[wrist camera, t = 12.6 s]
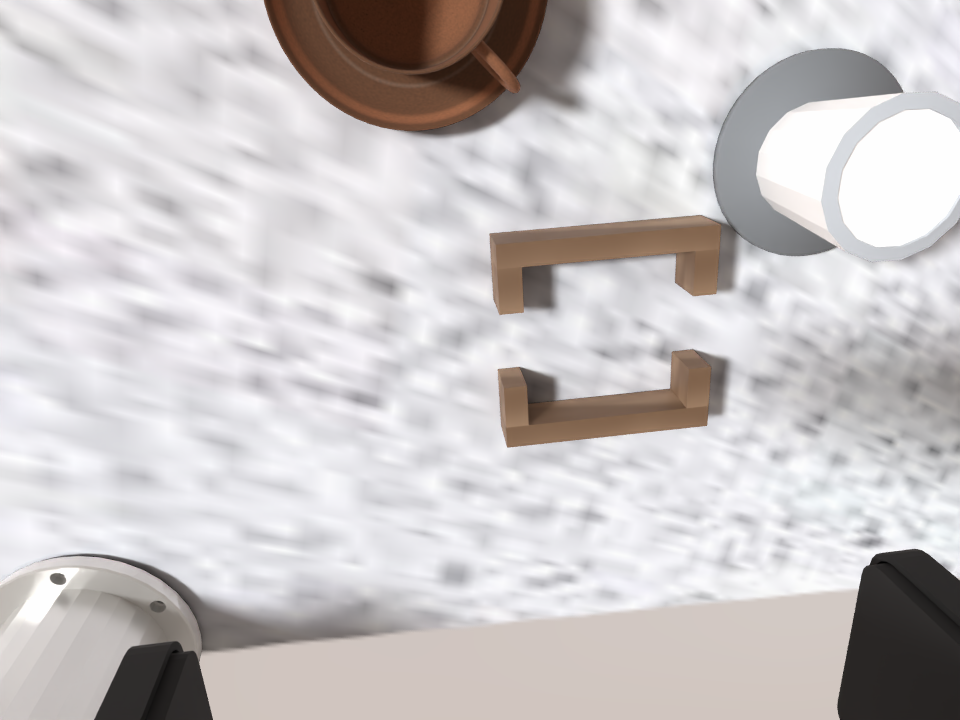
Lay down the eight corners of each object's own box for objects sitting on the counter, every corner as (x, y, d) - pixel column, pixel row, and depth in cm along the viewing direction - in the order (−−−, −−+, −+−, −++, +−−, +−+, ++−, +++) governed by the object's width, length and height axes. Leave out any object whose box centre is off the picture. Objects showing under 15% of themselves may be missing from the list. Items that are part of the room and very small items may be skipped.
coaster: (886, 244, 37) (893, 247, 37) (707, 261, 37) (711, 264, 36) (919, 41, 33) (928, 41, 33) (719, 56, 33) (725, 55, 32)
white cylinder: (806, 57, 33) (906, 53, 26) (903, 137, 35) (1018, 151, 28) (716, 184, 34) (789, 210, 28) (813, 253, 36) (902, 291, 30)
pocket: (689, 405, 40) (707, 425, 38) (501, 425, 39) (507, 447, 37) (700, 215, 36) (721, 224, 33) (489, 233, 35) (495, 244, 33)
